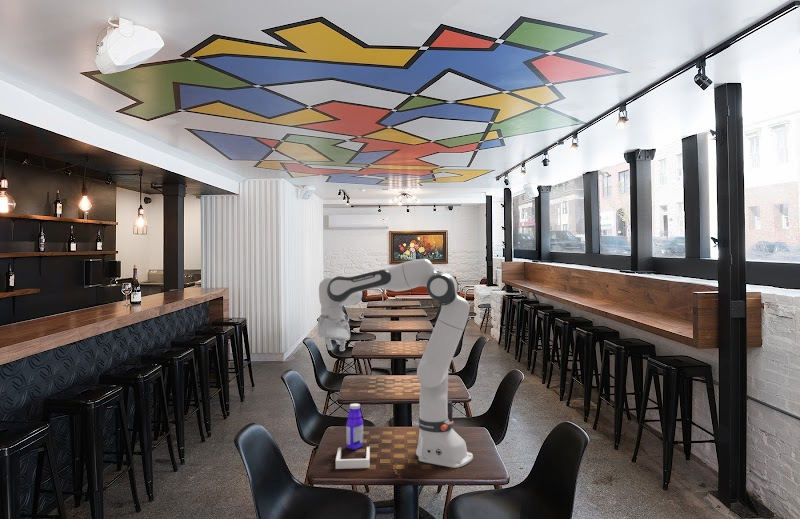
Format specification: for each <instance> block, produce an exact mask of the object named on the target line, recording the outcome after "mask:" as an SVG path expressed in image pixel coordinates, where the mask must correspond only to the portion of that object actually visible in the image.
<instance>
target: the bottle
mask: <svg viewBox="0 0 800 519" xmlns="http://www.w3.org/2000/svg"><path fill="white" fill-rule="evenodd" d="M347 417H348V418H347V421H346V426H345V429H346V431H345V432H346V434H345V437H346V438H345V440H346V444H345V445H346V447H347V449H350V450H357V449H360V448H361V447H363V445H364V420H363V418H362V417H363V415H362V412H361V404H360V403H350V404H349V411H348V414H347Z"/></svg>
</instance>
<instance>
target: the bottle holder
mask: <svg viewBox="0 0 800 519" xmlns="http://www.w3.org/2000/svg"><path fill="white" fill-rule="evenodd" d="M370 450H371V446H366V451H365V452H366V454H365V455H366V456H365V458H342V447H338V448H337V451H336V452H337V453H336V456H335V470H341V469H343V470H345V469H346V470H347V469H370V466H371V465H370V460H371V459H370V458H371V456H370V455H371V451H370Z"/></svg>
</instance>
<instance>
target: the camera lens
mask: <svg viewBox="0 0 800 519" xmlns="http://www.w3.org/2000/svg"><path fill="white" fill-rule="evenodd" d="M453 405H454V404H453V401H452V399H451V398H448V397H447V410H448V418H449V421H450V422H452V421H453V410H454V409H453V407H454V406H453ZM451 426H452V428H453V426H454V424H452V425H451Z"/></svg>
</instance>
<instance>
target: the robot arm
mask: <svg viewBox="0 0 800 519" xmlns="http://www.w3.org/2000/svg"><path fill="white" fill-rule="evenodd" d="M419 287H426V291H427V294H428V295H429V297H430V298H431V299H432V300H434V301H435V302H436V303H438V304H439V305H440V306H441V308H440V312H439V314H438V317H437V320H436V322H435V325H434V328H433V330H432V332H431V335H430V337H429V339H428V342H427V345H426V347H425V349H424V351H423V354H422V357H421V358H420V361H419V364H418V365H417V369H416V376H417V379H418V381H419V383H420V390H419V397H418V398H419V399H418V400H419V417H418V431H419V434H418V440H417V441H418V442H417V446H416V447H417V448H416V451H415V455H416V457H418V461H419V462H422V463H426V464H432V465H437V466H443V467H447V468H454V469H456V468H461V467H463V466H466V465H467V464H469V463H470V462H471V461H472V460H473V459H474V455H473V453H472V452H469V451H468V449H467V448H468V447H467V444H466V441H465V440H464V439H463V438H462V437H461V436H460V435H459V434H458V433H457V432H456V431H455V429H454V428H453V427H452V426H451V425H452V424H453V425H454V420H452V422H450V421H449V418H448V410H447V398H448V395H449V394H448V391H449V368H450V366H451V363H452V361H453V357H454V356H455V353H456V350H457V348H458V346H459V342H460V340H461V339H462V336H463V332H464V330H465V328H466V324H467V322H468V318H469V314H470V309H471V308H470V307H471V306H470V303H469V302H468V301H467V300H466V299H465V298H463V297H461V296H460V295H459V294H458V291H459V283H458V280H457V279H456V277H455V276H454V275H453V274H450V273H448V272H442V271H439V270H437V271H436V270H435V267H434V264H433V263H432V262H431V260H429V259H427V258H418V259H413V260H409V261H405V262H401V263H399V264H395V265H392V266H388V267H386V268H382V269H379V270H375V271H370V272H367V273H363V274H358V275H355V276H341V275H340V276H339V275H338V276H335V277H327V278H325V279H323V280H322V281H320V283H319V285H318V298H319V303H320V313H321V314H320V315H319V317H318V321H317V333H318V337H319V338H320V339H324V342H325V344H326V346H327V350H328V351H331V350H334V344H333V343H332V340H333V341H339V351H340V352H344V351H345V350H346V347H345V346H346V341H349V340H350V338H351V330H350V325H349V321H350V319H349V316H348V315H347V314H345V313H344V311H343V306H345V307H346V306H348V307H349V306H355V305H357V304H359V303H360V301H361V300H362V298H363V292H364V291H367V290H371V289H372V290H373V289H383V290H388V291H392V292H403V291H404V292H405V291H408V290H412V289H415V288H419Z"/></svg>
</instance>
